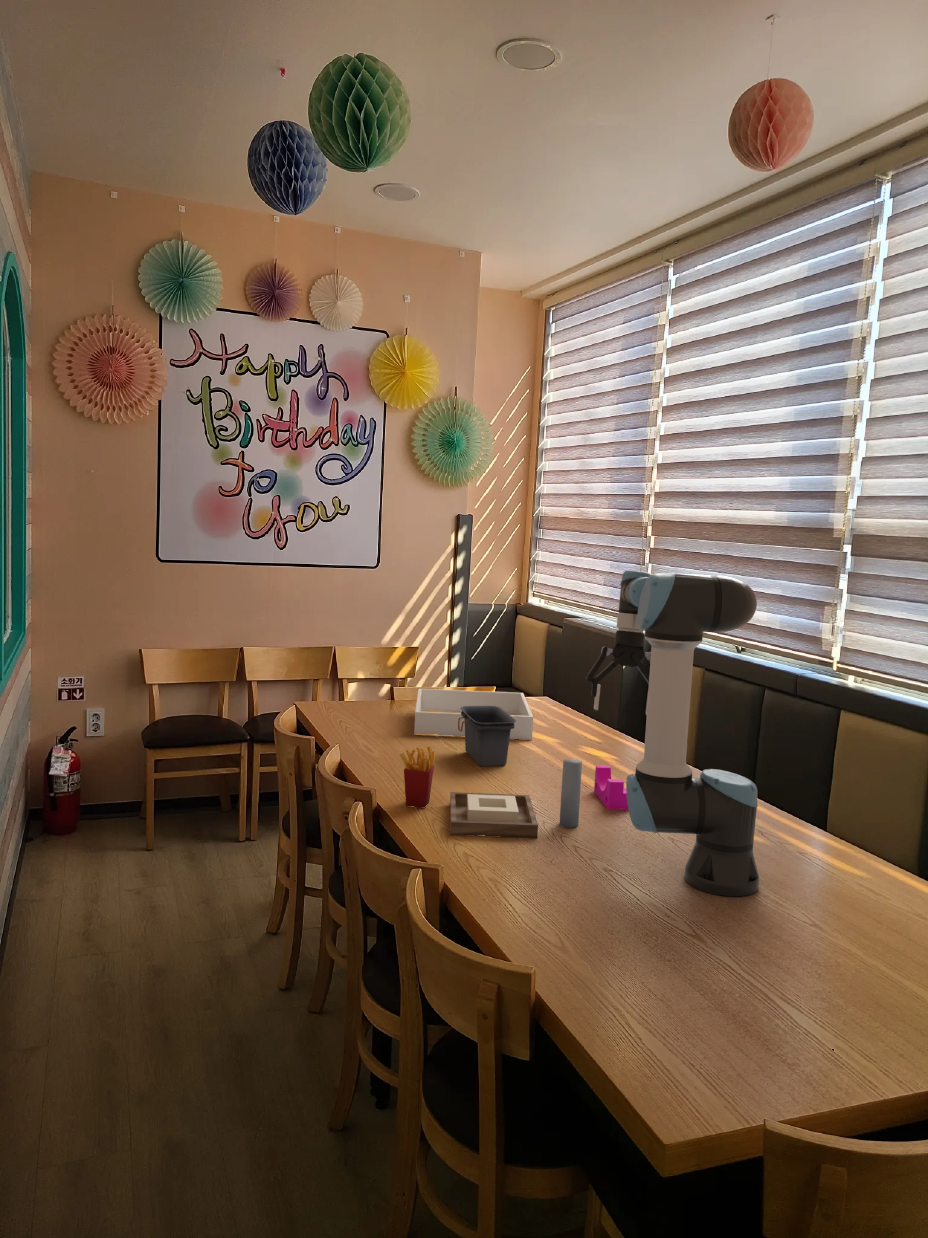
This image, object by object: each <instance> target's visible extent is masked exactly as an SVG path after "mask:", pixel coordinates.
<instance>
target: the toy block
mask: <svg viewBox="0 0 928 1238" xmlns="http://www.w3.org/2000/svg"><path fill="white" fill-rule="evenodd" d="M624 786H625V782H624V781H623V779H622V778H612V767H611V766H610V765H595V771H594V787H593V791H594V793H595V794H596V796H597V797H598V798H599V800H600V801H601V802H602V803H603V805H604V806H605V807H606V808H607V810H629V809H628V803H627V792H626V788H625V787H624Z"/></svg>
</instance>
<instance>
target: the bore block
mask: <svg viewBox="0 0 928 1238" xmlns="http://www.w3.org/2000/svg"><path fill="white" fill-rule="evenodd" d="M518 816H519V811H518V807H517V803H516V799H515V796H502V795H475V794H467V820H468V821H484V822H511V823H518Z"/></svg>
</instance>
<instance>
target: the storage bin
mask: <svg viewBox="0 0 928 1238" xmlns="http://www.w3.org/2000/svg"><path fill="white" fill-rule="evenodd" d="M460 709H461V710H462V712H460V713H461V715H462V716H463V717H460V718H459V719H458V730H459V731H460V732H462V729H463V723H464V722H465V738H464V741H465V742H464V748H465V749H464V750H465V752H466V753H467V754H468V755H469V756H470V757H471V758H472V759H473V760H474V761H475V762H476V764H478V766H479V767H480V766H481V767H496V766H499V767H502V766H505V765H507V760H508V755H509V753H508V752H509V745H510V740H511V739H510V731H511V729H513V728H514V727H515V725H514V723H515V722H516V720H515V719H514V718H513V717H512V716H510V715H511V714H508V713H507V712H505V711H504V710H503V709H501V708H500V707H497V706H464V707H461V708H460ZM461 718H465V721H463V722H462V725H461V730H460V728H459V724H460V719H461ZM501 765H502V766H501Z"/></svg>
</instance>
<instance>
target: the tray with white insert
mask: <svg viewBox="0 0 928 1238" xmlns="http://www.w3.org/2000/svg"><path fill="white" fill-rule="evenodd" d="M467 794H475V795H502V796H515V799H516V803H517V807H518V811H519V816H518V823H511V822H484V821H468V820H467ZM449 795H450V796H449V820H450V821H449V830H450V833H449V835H450V836H458V835H475V836H474V837H478V836H477V835H485V836H500V837H499V838H512V837H515V838H516V839H517V838H519V839H538V832H539V823H538V820H537V817H536V812H535V810H534V806H533V803H532V801H531V796H530V795H529V794H513V793H512V794H510V793H508V794H507V793H506V794H505V793H484V792H483V793H481V792H459V791H458V792H457V791H456V792H455V791H454V792H453V791H450V794H449ZM485 836H484V837H485ZM515 838H514V839H515Z"/></svg>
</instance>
